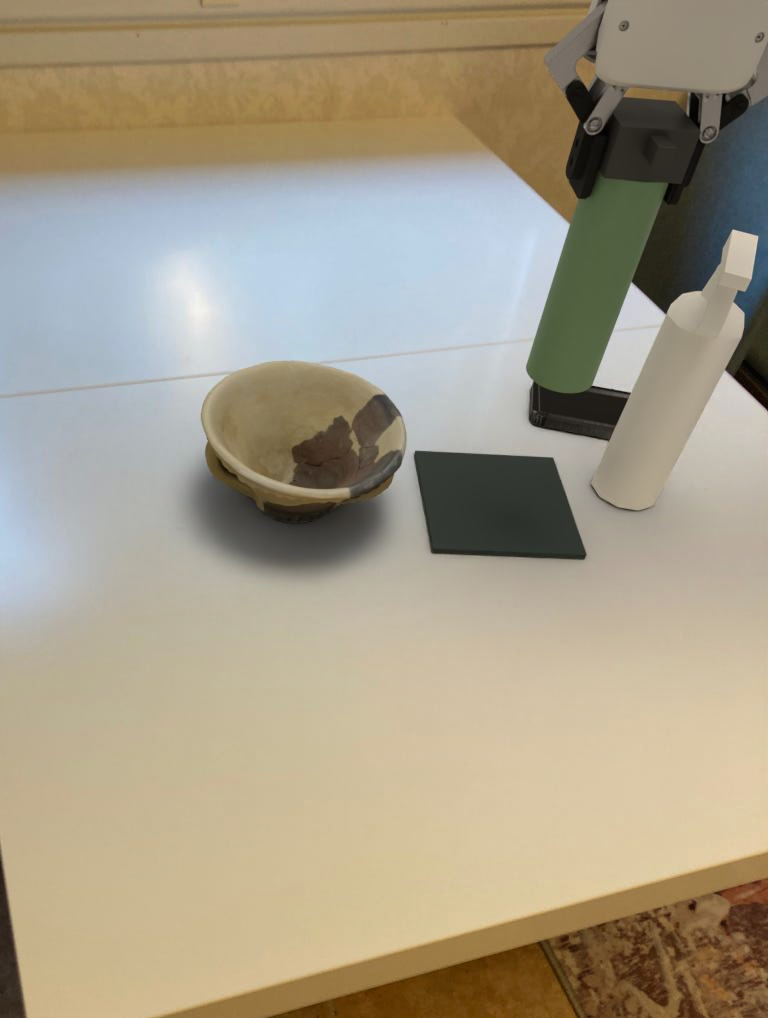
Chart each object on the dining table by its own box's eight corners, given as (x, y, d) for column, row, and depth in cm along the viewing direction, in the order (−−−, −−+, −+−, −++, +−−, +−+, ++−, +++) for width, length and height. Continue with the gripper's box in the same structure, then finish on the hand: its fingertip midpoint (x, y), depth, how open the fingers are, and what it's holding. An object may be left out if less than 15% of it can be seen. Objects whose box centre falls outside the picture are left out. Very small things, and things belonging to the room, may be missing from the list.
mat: (551, 461, 93) (553, 457, 92) (584, 559, 84) (587, 554, 83) (413, 455, 92) (414, 450, 91) (432, 553, 83) (433, 548, 82)
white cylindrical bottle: (669, 461, 95) (788, 215, 76) (653, 532, 87) (781, 278, 68) (604, 441, 96) (705, 195, 77) (582, 509, 88) (689, 255, 70)
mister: (519, 353, 75) (597, 94, 61) (584, 356, 76) (676, 100, 61) (538, 404, 71) (627, 137, 56) (606, 408, 71) (712, 143, 57)
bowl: (180, 554, 80) (180, 465, 73) (219, 430, 92) (222, 344, 85) (383, 585, 79) (402, 500, 72) (396, 457, 91) (413, 372, 84)
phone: (533, 374, 101) (672, 399, 100) (530, 383, 102) (668, 408, 101) (531, 415, 96) (678, 442, 95) (528, 425, 97) (674, 451, 95)
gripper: (860, -149, 53) (722, 178, 66) (567, -179, 51) (488, 162, 65) (923, -121, 48) (761, 227, 62) (602, -153, 47) (509, 210, 60)
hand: (622, 190), depth 63 cm, fingers closed on mister, 5 cm apart
